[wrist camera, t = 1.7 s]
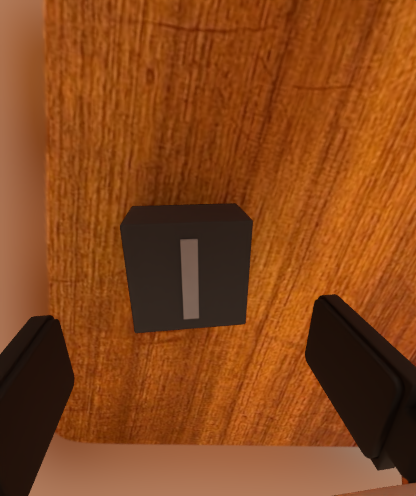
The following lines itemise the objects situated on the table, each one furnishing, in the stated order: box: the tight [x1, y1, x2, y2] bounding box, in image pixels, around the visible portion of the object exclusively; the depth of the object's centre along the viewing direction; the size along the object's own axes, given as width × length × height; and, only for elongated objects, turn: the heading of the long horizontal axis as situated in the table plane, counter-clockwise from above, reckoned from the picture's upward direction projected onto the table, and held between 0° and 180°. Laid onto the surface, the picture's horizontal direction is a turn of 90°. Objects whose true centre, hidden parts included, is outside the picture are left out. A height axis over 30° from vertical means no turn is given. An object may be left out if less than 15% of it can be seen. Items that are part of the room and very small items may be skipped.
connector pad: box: [120, 203, 253, 333], centre depth 14 cm, size 6×6×4 cm
